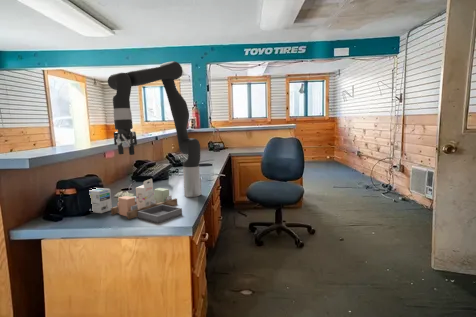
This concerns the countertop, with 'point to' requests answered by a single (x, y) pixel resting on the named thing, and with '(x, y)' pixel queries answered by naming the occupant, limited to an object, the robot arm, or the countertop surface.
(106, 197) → the light bulb box
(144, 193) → the ink cartridge box
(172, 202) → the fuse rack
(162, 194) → the sage block
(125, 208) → the terracotta block
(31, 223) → the countertop surface
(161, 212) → the tray
